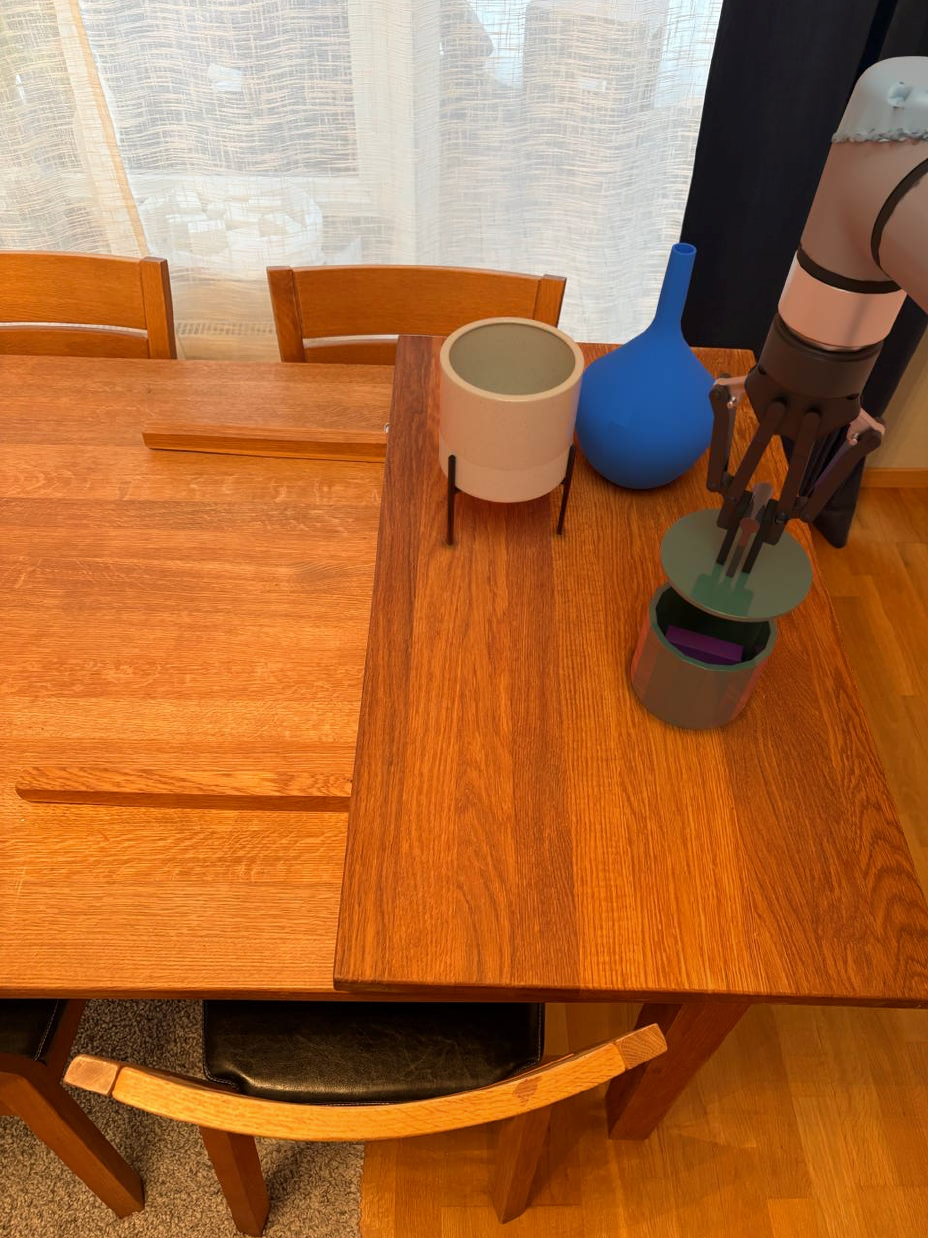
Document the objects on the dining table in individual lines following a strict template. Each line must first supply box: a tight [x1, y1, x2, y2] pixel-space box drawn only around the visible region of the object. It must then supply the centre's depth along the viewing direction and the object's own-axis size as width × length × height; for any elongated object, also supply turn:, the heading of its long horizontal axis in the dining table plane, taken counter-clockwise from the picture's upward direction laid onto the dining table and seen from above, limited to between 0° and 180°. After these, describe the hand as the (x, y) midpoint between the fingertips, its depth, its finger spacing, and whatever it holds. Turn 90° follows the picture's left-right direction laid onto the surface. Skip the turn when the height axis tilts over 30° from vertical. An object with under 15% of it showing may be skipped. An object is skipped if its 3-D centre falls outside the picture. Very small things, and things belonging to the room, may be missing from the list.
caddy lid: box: [658, 481, 813, 622], centre depth 75 cm, size 14×14×8 cm
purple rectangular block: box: [665, 625, 743, 666], centre depth 91 cm, size 8×4×2 cm
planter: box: [438, 316, 585, 546], centre depth 99 cm, size 15×16×23 cm
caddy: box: [630, 580, 779, 731], centre depth 88 cm, size 12×12×10 cm
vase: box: [574, 242, 716, 490], centre depth 103 cm, size 18×18×30 cm
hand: (736, 557), depth 77 cm, fingers closed on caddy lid, 2 cm apart
